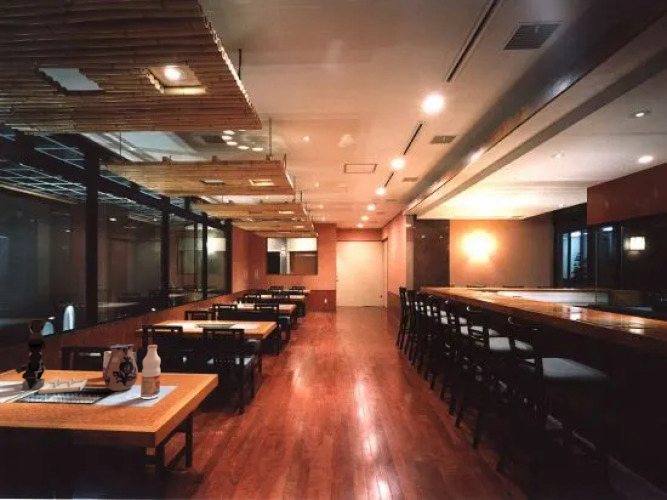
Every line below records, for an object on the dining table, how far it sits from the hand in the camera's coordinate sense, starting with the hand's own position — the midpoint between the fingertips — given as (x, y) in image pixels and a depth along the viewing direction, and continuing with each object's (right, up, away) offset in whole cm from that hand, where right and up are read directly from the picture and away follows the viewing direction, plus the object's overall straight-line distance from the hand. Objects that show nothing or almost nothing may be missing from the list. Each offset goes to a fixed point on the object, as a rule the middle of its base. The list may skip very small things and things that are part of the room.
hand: (33, 386), depth 230 cm
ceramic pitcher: (+48, -2, +3) cm, 48 cm away
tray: (+17, -1, +1) cm, 17 cm away
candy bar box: (+31, -4, +26) cm, 41 cm away
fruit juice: (+73, -2, -12) cm, 74 cm away
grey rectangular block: (0, -1, 0) cm, 1 cm away
